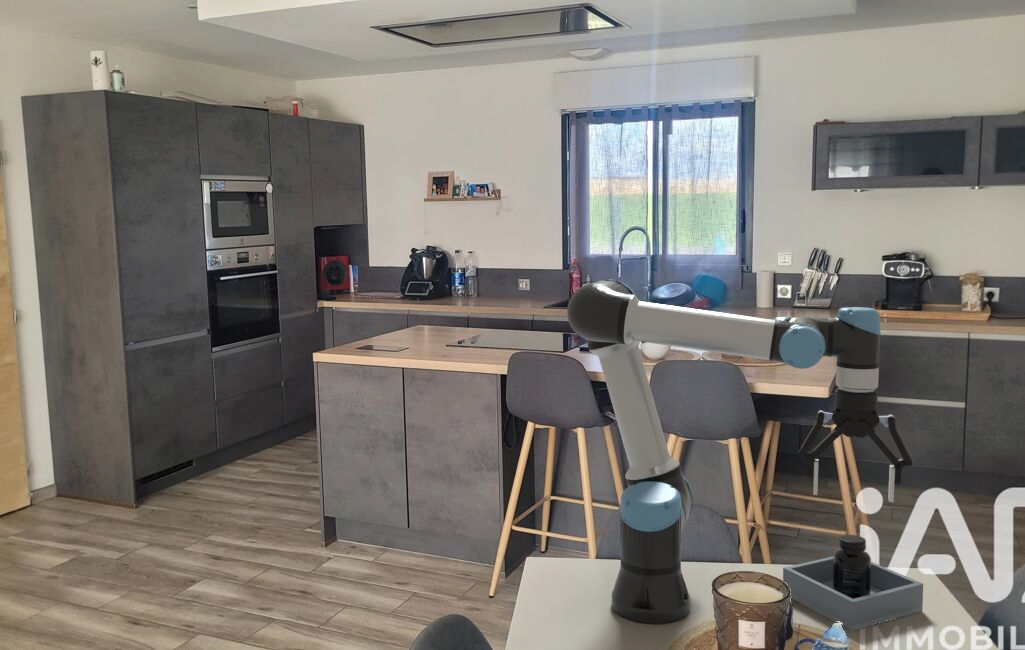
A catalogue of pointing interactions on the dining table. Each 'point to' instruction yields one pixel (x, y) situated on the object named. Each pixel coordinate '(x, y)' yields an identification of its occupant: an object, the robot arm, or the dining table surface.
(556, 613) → the dining table surface
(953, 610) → the dining table surface
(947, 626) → the dining table surface
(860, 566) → the supplement bottle
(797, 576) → the open box
